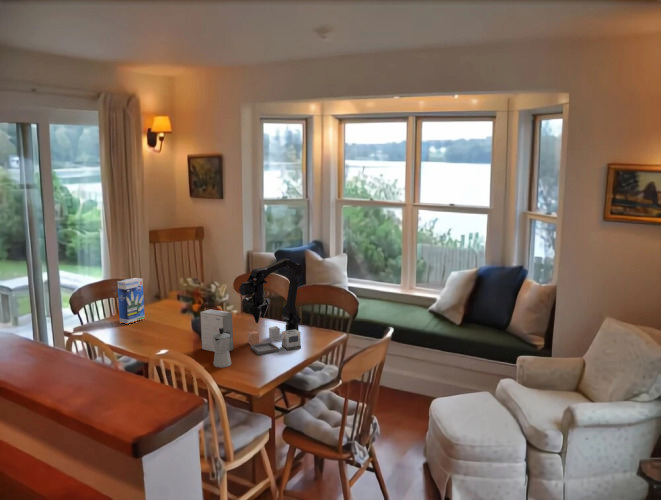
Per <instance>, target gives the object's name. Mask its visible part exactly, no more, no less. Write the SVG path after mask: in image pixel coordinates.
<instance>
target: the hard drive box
mask: <svg viewBox="0 0 661 500" xmlns="http://www.w3.org/2000/svg"><path fill="white" fill-rule="evenodd" d="M199 314H200V331H201V332H200V336H201V337H200V338H201V349H202V350H203V351H204V350H205V351H210V352H214V353H215V351H216V350H215V349H214V343H213V335H215V334H218V333H220V332H219V328H224V330H223V332H224V331H225V332H227V331H228V332H230V334H231V336H230V343H229V349H228V350H229V352H231V351H233V350H234V333H233V331H234V330H233V313H232V312H230V311H225V310H224V311H223V310H218V309H217V310H216V309H211V308H210V309H206V310H204V311H200V313H199Z"/></svg>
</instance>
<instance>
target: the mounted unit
mask: <svg viewBox="0 0 661 500" xmlns="http://www.w3.org/2000/svg"><path fill="white" fill-rule="evenodd" d="M281 348H283V349H284V350H285V351H286V352H288V351H289V352H290V351H293V350H294V351H295V350H300V349H302V345H301V332H300V331H298V330H296V329H294V330H288V331H286V330H282V331H281Z"/></svg>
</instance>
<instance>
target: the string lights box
mask: <svg viewBox="0 0 661 500" xmlns="http://www.w3.org/2000/svg"><path fill="white" fill-rule="evenodd" d="M143 281H144V278H139V277H133V278H126V279H123V280H117V283H116V284H117V294H118V295H117V296H118V297H117V298H118V312H119V313H118V316H119V317H118V318H119V323H120V322H123V323H130V322H134V321H137V320H141V319H144V318H145V319H146V315H145V314H146V313H145V296H144V284H143V283H144V282H143Z"/></svg>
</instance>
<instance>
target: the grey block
mask: <svg viewBox="0 0 661 500" xmlns="http://www.w3.org/2000/svg"><path fill="white" fill-rule="evenodd" d="M280 332H281V329H280V327H278V326H277V325H276V326H271V327H270V326H269V327H268V338H269V339H270V340H271V341H274V340H281V333H280Z"/></svg>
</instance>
